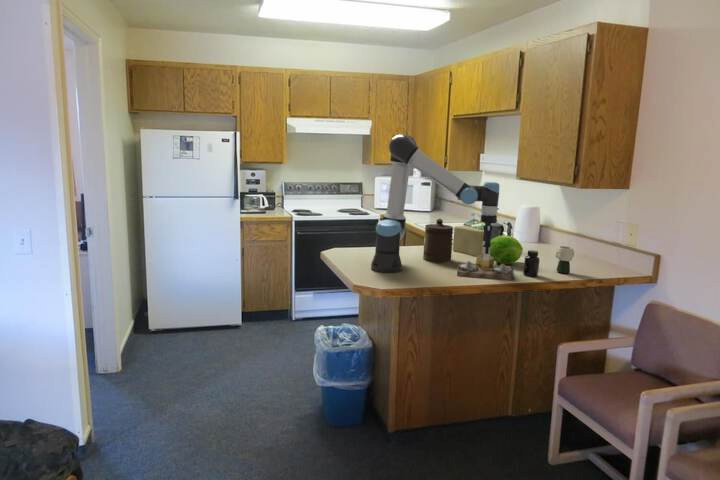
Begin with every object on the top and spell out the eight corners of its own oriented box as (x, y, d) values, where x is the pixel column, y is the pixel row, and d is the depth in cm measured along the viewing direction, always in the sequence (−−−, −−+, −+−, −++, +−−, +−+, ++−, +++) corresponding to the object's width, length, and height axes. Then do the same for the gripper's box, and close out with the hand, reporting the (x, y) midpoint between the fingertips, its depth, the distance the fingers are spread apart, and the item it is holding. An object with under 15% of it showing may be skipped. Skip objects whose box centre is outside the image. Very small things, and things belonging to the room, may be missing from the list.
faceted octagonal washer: (476, 268, 250) (476, 258, 249) (475, 264, 258) (476, 254, 257) (493, 269, 248) (494, 259, 247) (492, 265, 256) (493, 256, 255)
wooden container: (437, 255, 285) (439, 216, 281) (456, 260, 274) (459, 220, 269) (417, 258, 277) (419, 217, 272) (436, 264, 265) (439, 222, 261)
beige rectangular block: (490, 257, 285) (493, 231, 282) (477, 259, 280) (479, 232, 277) (464, 249, 304) (466, 224, 301) (451, 250, 299) (453, 225, 296)
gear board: (457, 275, 243) (458, 263, 242) (457, 265, 263) (458, 254, 261) (513, 280, 238) (515, 267, 237) (510, 270, 258) (511, 258, 257)
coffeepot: (480, 247, 312) (482, 218, 309) (493, 246, 316) (496, 217, 312) (494, 252, 298) (497, 222, 295) (508, 252, 301) (511, 221, 298)
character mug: (566, 270, 262) (569, 245, 259) (576, 274, 255) (579, 248, 253) (549, 271, 258) (552, 246, 256) (558, 275, 252) (561, 249, 249)
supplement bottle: (520, 274, 249) (522, 250, 247) (527, 272, 254) (529, 249, 252) (533, 277, 245) (536, 253, 242) (540, 275, 249) (543, 251, 247)
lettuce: (527, 269, 271) (535, 241, 267) (500, 268, 261) (507, 240, 257) (505, 258, 285) (512, 232, 281) (478, 258, 275) (485, 231, 271)
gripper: (498, 218, 235) (494, 263, 239) (495, 211, 259) (491, 252, 263) (482, 217, 237) (478, 262, 241) (480, 210, 261) (476, 251, 265)
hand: (485, 257), depth 252 cm, fingers open, 13 cm apart
